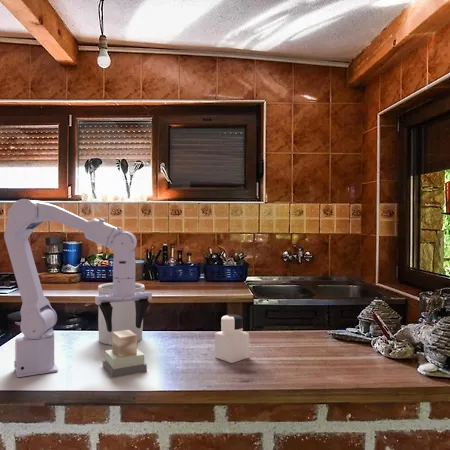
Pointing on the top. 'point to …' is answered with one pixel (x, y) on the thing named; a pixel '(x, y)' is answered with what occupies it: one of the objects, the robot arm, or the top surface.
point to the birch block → (124, 343)
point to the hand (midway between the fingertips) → (124, 329)
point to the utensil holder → (119, 315)
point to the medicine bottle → (231, 340)
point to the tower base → (124, 369)
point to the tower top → (123, 359)
